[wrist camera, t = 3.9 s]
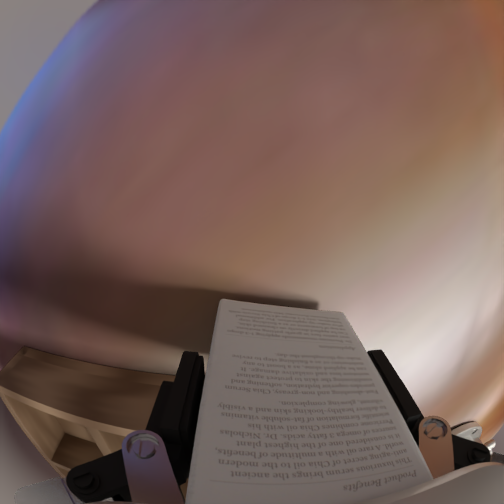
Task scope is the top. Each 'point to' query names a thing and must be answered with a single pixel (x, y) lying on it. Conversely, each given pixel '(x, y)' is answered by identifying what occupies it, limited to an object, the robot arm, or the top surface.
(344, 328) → the skincare box
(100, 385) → the walnut caddy
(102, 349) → the top surface
